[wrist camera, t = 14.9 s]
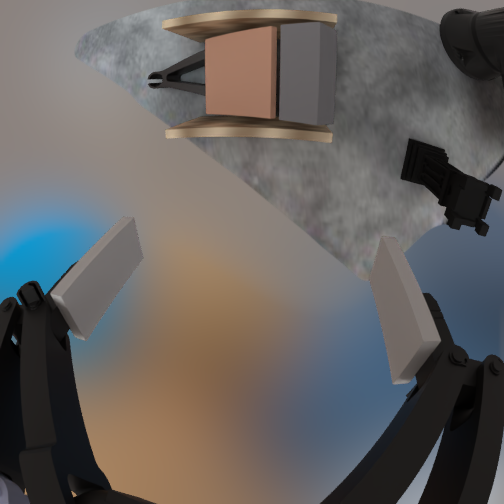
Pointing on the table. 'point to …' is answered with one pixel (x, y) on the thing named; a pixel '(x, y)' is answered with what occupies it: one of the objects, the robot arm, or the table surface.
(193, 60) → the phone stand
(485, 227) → the chess piece
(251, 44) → the trapdoor
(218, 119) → the frame
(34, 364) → the robot arm
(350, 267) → the table surface
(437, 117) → the table surface
